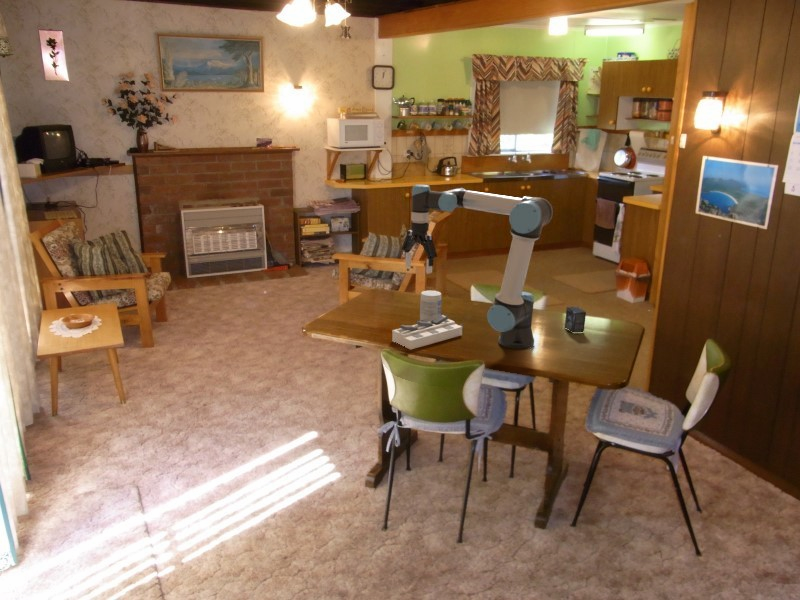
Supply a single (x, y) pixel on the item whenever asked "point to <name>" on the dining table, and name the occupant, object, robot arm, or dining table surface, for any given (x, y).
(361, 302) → the dining table surface
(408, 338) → the power strip
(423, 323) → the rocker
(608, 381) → the dining table surface
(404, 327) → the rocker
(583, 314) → the box
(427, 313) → the supplement tub
